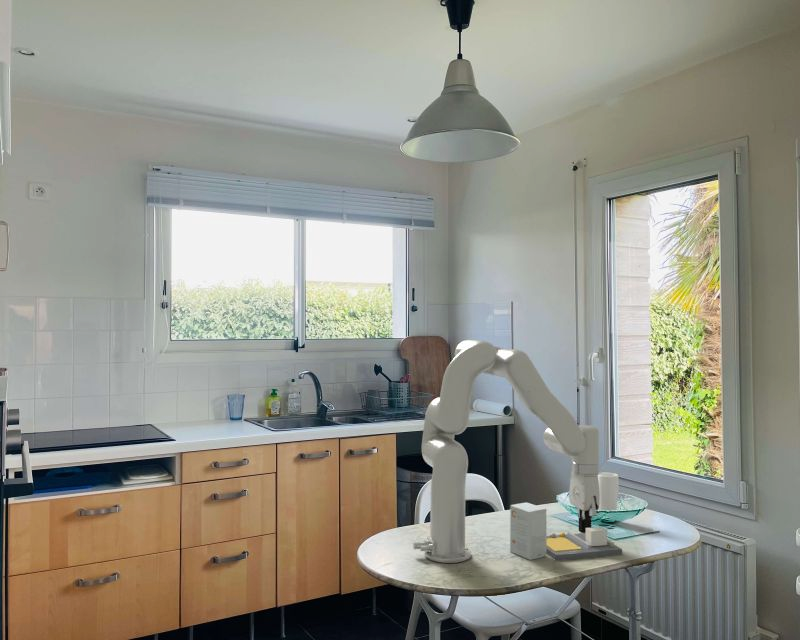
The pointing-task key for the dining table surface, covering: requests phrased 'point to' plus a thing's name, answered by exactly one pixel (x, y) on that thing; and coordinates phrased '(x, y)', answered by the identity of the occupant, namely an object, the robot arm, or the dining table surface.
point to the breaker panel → (577, 547)
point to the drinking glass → (608, 490)
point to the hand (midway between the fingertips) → (584, 531)
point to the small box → (528, 530)
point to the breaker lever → (596, 536)
